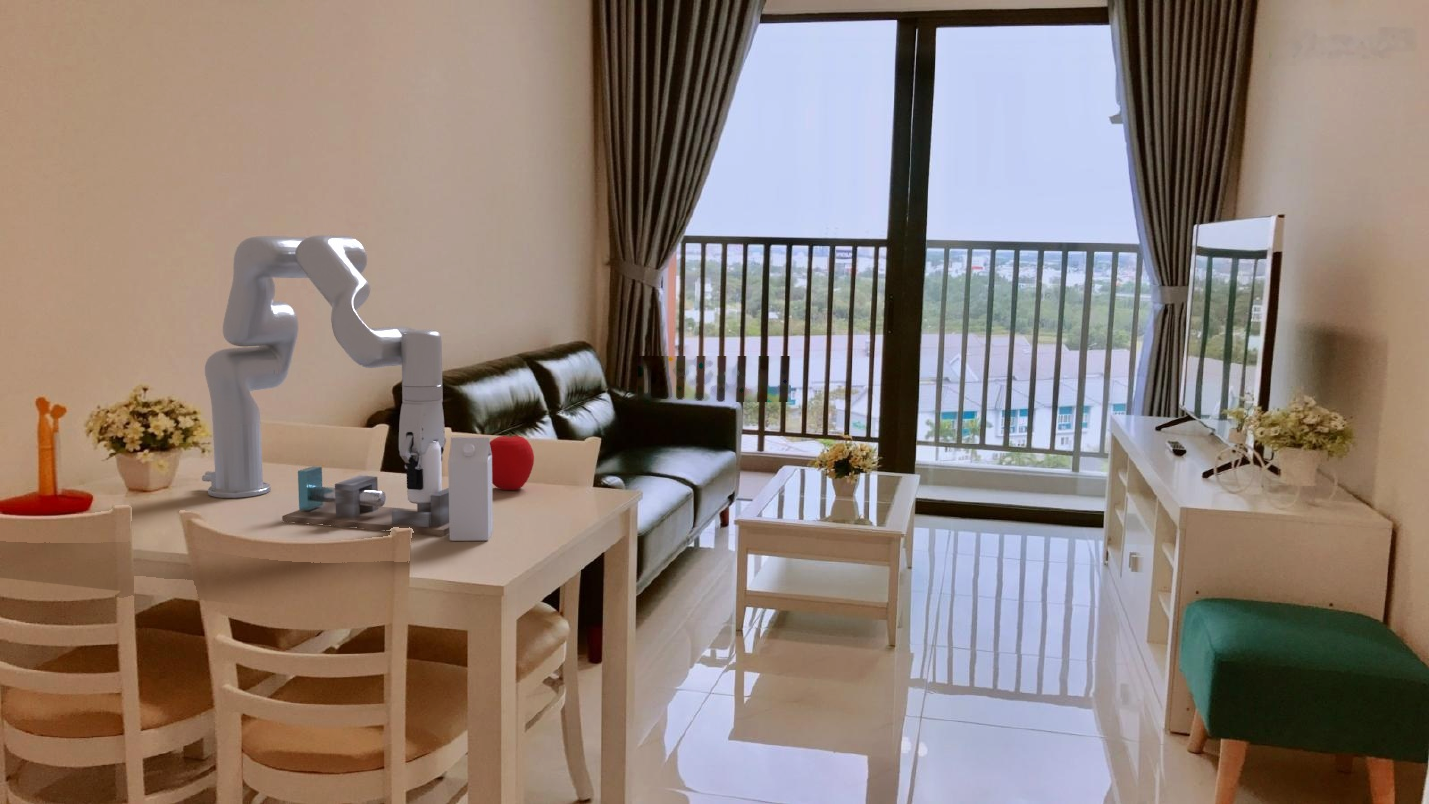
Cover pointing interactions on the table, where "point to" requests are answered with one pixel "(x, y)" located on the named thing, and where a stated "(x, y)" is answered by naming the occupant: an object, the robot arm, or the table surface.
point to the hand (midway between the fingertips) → (424, 484)
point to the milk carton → (470, 489)
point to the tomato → (511, 461)
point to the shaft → (328, 491)
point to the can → (428, 475)
